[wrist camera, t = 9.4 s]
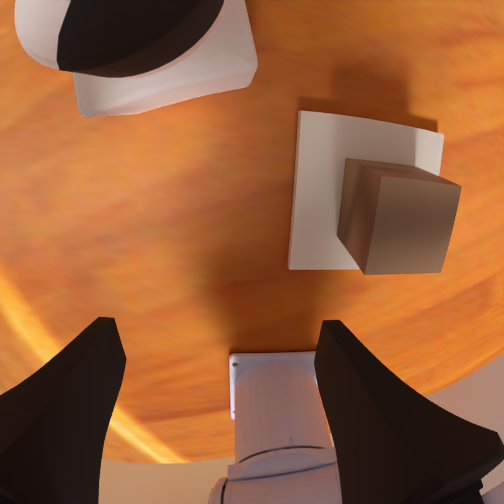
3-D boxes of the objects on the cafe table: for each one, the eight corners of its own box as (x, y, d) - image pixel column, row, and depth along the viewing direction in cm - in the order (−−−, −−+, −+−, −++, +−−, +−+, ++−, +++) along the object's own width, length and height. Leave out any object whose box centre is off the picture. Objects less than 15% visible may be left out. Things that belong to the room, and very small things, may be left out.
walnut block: (402, 237, 19) (440, 272, 15) (336, 235, 19) (364, 274, 15) (415, 166, 17) (461, 186, 13) (345, 158, 17) (381, 175, 12)
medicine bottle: (229, -16, 13) (222, -146, 2) (251, 87, 16) (277, 38, 5) (115, 15, 13) (-5, -53, 2) (133, 115, 16) (-4, 136, 5)
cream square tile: (413, 263, 21) (418, 268, 21) (287, 264, 21) (289, 269, 20) (437, 133, 17) (444, 134, 16) (298, 110, 16) (300, 110, 16)
